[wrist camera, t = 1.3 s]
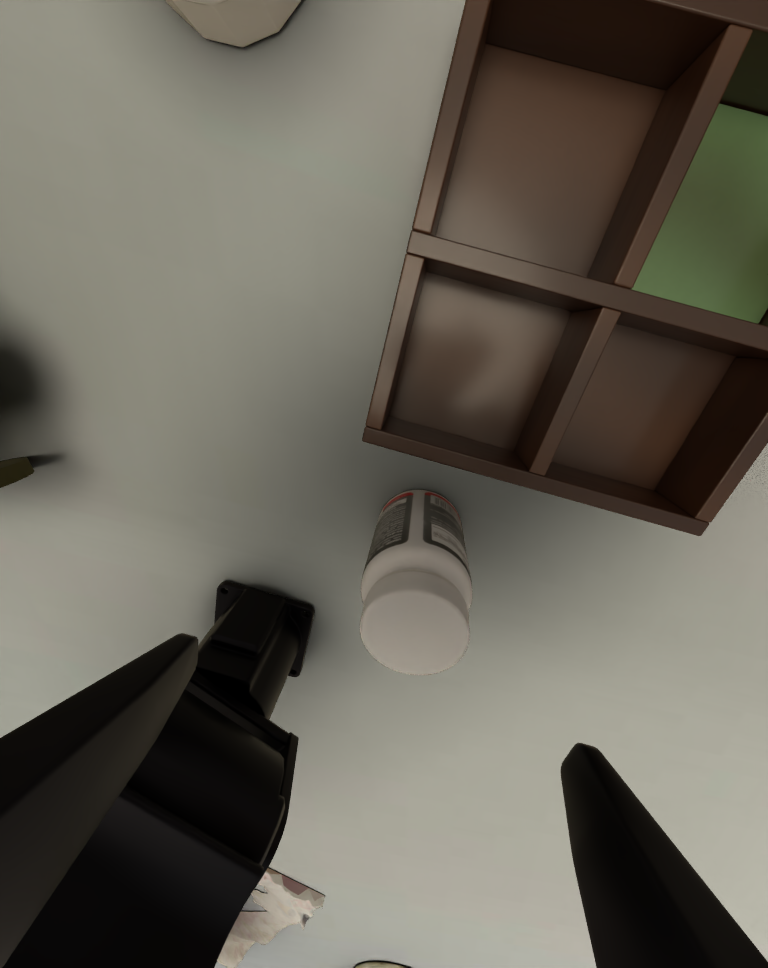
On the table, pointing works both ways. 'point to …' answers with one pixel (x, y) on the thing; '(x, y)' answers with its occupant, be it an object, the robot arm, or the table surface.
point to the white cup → (235, 18)
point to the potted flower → (269, 915)
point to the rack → (591, 258)
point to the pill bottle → (417, 586)
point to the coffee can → (378, 965)
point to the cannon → (14, 470)
